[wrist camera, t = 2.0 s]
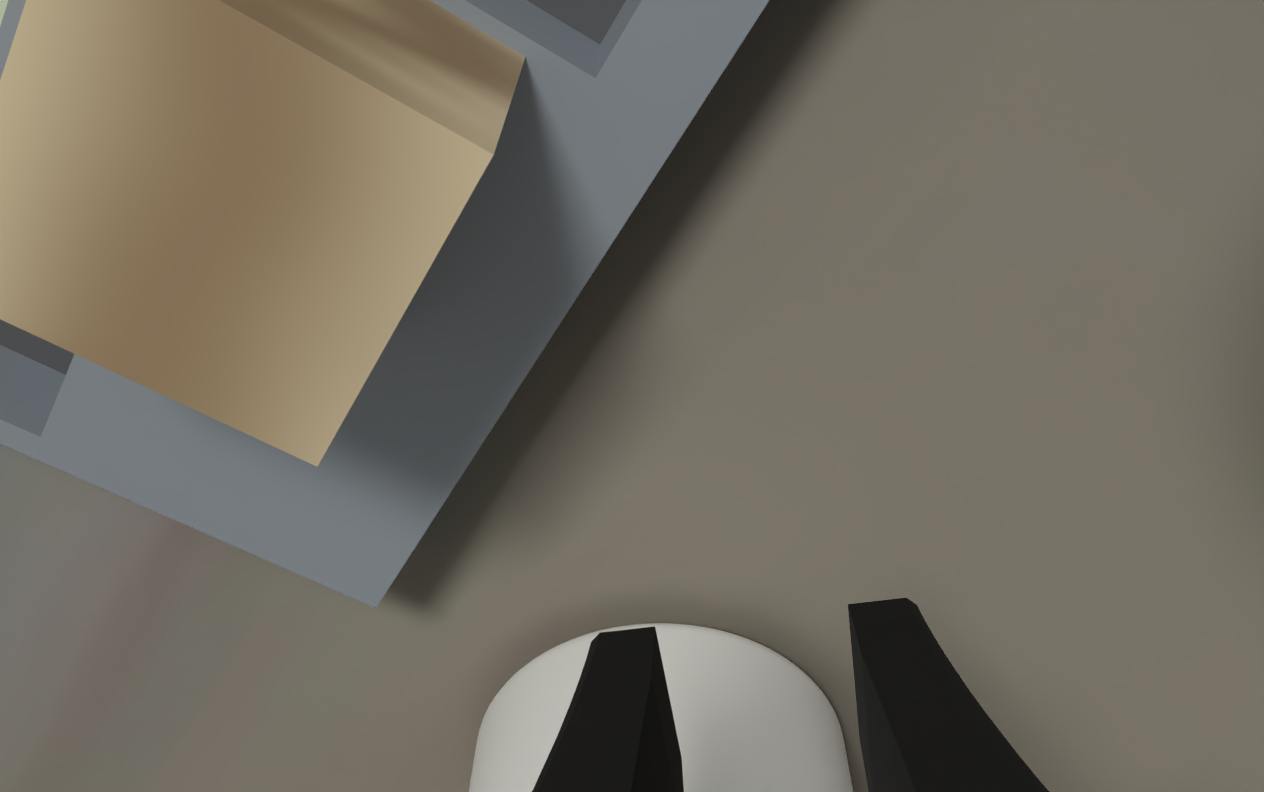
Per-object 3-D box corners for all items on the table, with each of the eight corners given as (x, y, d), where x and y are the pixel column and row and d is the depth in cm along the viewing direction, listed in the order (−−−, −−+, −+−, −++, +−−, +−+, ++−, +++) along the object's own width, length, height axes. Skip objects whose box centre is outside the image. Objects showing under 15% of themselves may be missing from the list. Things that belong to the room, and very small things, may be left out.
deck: (881, -226, 17) (942, -201, 13) (395, 541, 24) (353, 686, 20) (-241, -1045, 13) (-570, -1310, 9) (-415, 171, 20) (-634, 274, 16)
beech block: (525, 56, 17) (493, 154, 13) (376, 324, 19) (316, 466, 16) (188, -144, 15) (55, -93, 12) (71, 169, 18) (-67, 288, 14)
